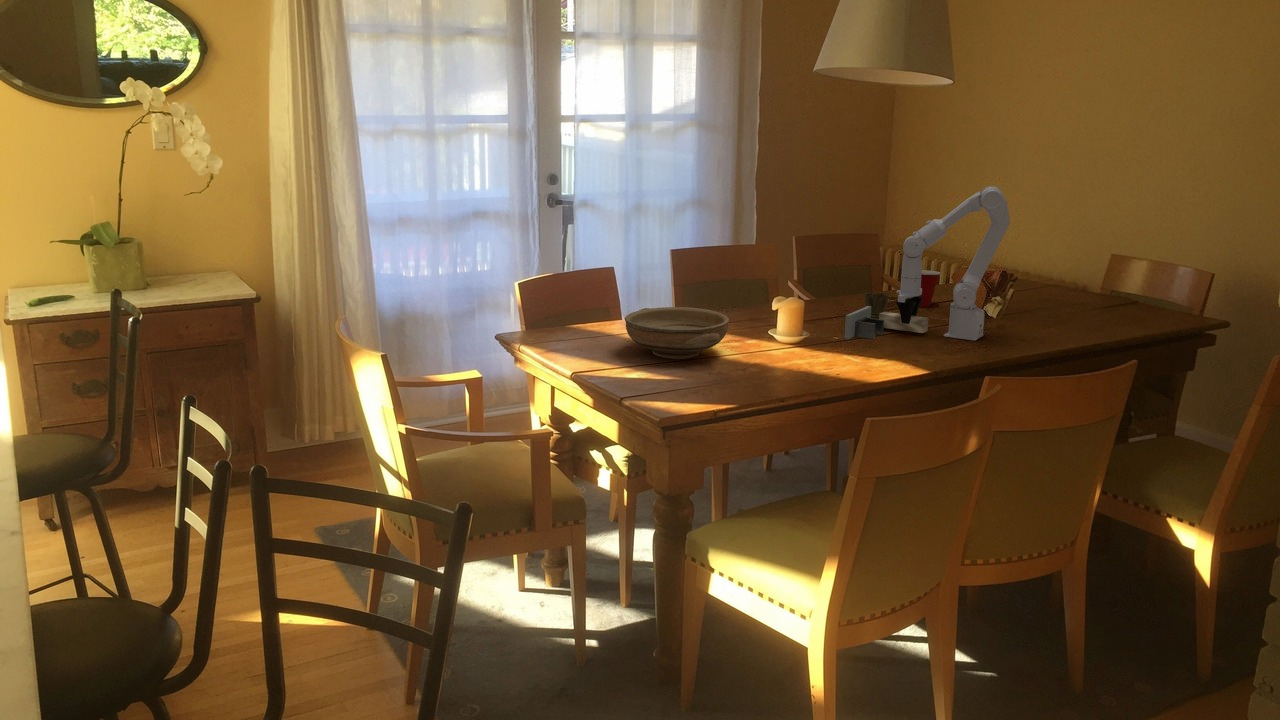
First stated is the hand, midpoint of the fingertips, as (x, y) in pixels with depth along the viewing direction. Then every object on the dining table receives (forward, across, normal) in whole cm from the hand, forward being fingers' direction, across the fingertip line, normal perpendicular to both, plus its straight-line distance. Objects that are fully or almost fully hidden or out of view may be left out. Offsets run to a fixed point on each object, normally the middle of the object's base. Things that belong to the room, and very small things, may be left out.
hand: (908, 322), depth 302 cm
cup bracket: (+3, +10, -8) cm, 13 cm away
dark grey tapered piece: (+3, -13, -16) cm, 21 cm away
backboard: (+3, +10, -12) cm, 16 cm away
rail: (+2, 0, -2) cm, 3 cm away
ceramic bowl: (+3, +60, -44) cm, 74 cm away
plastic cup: (+3, -41, -11) cm, 42 cm away
